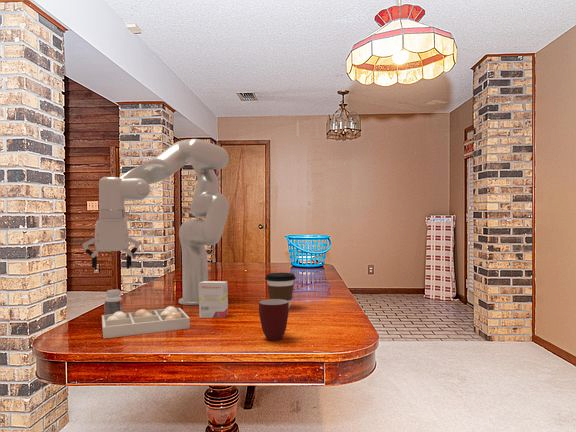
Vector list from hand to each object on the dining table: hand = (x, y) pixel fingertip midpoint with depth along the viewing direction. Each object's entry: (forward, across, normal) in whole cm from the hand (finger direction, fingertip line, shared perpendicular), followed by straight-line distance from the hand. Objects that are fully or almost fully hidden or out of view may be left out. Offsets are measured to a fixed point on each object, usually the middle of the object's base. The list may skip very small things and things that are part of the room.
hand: (111, 269), depth 142 cm
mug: (+17, -40, +41) cm, 59 cm away
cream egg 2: (+16, -16, +11) cm, 25 cm away
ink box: (+17, -31, +11) cm, 36 cm away
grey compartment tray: (+17, -9, +15) cm, 24 cm away
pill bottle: (+17, 0, 0) cm, 17 cm away
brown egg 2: (+16, -16, +18) cm, 29 cm away
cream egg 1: (+16, -1, +11) cm, 19 cm away
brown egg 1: (+16, -8, +11) cm, 21 cm away
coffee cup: (+16, -56, +8) cm, 58 cm away
